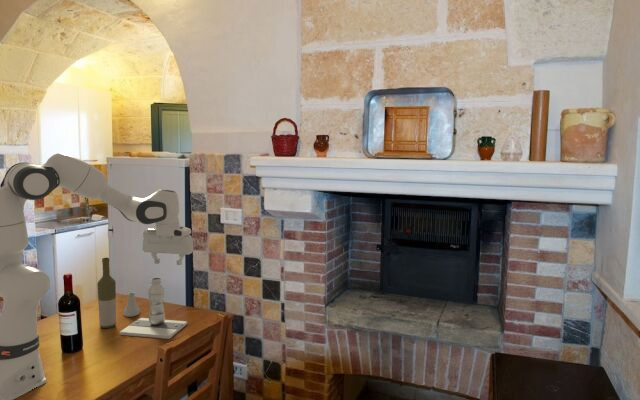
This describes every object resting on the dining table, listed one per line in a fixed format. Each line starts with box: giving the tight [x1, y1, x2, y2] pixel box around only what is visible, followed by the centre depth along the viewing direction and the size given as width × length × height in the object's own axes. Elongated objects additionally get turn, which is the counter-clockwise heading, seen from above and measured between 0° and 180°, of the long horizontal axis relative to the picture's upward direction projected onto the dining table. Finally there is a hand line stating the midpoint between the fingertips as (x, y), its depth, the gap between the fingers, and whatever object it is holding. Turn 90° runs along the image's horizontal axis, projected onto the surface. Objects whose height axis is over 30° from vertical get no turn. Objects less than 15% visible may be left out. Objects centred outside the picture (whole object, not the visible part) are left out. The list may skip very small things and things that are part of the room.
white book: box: [119, 317, 188, 340], centre depth 190 cm, size 16×22×2 cm
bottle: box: [96, 257, 117, 329], centre depth 191 cm, size 7×7×30 cm
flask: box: [122, 292, 141, 318], centre depth 206 cm, size 7×7×10 cm
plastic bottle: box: [147, 277, 166, 325], centre depth 191 cm, size 6×7×20 cm
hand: (168, 264), depth 178 cm, fingers open, 8 cm apart
